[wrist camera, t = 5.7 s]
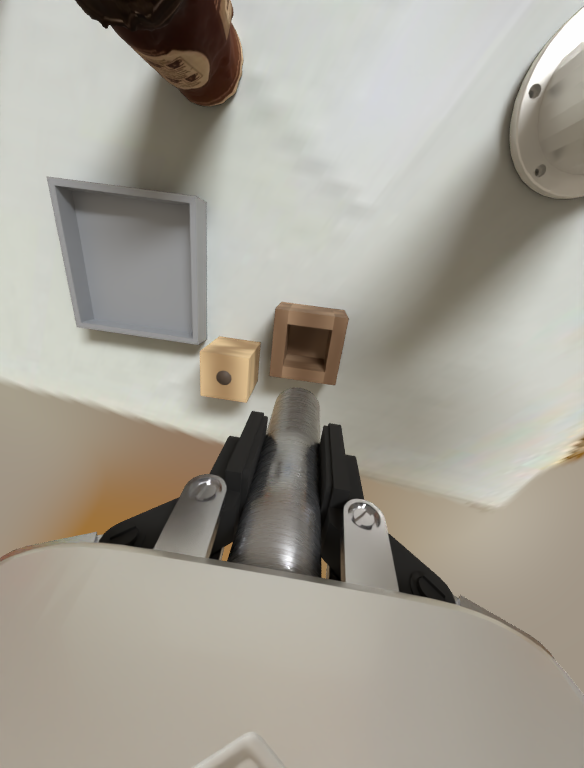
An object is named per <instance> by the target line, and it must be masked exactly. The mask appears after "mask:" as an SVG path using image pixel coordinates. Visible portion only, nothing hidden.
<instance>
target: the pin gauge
mask: <svg viewBox="0 0 584 768" xmlns="http://www.w3.org/2000/svg"><path fill="white" fill-rule="evenodd" d="M227 562H233V563H238V564H244V565H250V566H256V567H262V568H267V569H273V570H279V571H285V572H290V573H296V574H302V575H308V576H313V577H319V578H321V513H320V406H319V402H318V400H317V398H316V397H315V396H314V395H313V394H312V393H311V392H309V391H308V390H305V389H302V388H291V389H287V390H285V391H283V392H282V393H281V394H280V395H279V396H278V398H277V399H276V402H275V405H274V409H273V412H272V415H271V419H270V422H269V425H268V428H267V432H266V437H265V440H264V443H263V446H262V450H261V453H260V456H259V460H258V463H257V466H256V470H255V473H254V476H253V480H252V483H251V486H250V490H249V493H248V496H247V500H246V502H245V504H244V507H243V511H242V514H241V517H240V521H239V524H238V527H237V530H236V534H235V537H234V540H233V544H232V547H231V550H230V554H229V557H228V560H227Z"/></svg>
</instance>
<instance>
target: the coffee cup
mask: <svg viewBox="0 0 584 768" xmlns="http://www.w3.org/2000/svg"><path fill="white" fill-rule="evenodd" d="M75 1H76V2H77V4H78V5H79V6H80V7H81V8H82V9H83V11H84V12H85V13H86V14H87V15H89V16H90V17H91V18H92V19H94V20H97V21H99V22H100V23H101V24H102V26H103V27H104V28H108V26H109V25H111V26H112V28H113V29H114V30H115V32H116V33H117V34H118V35H119V36H120V37H121V38H122V39H123V40H124V41H125V42H126V43H127V44H128V45H130V46H131V47H132V48H133V50H134V51H136V52H137V53H138V54H139V55H140V56H141V57H142V58H143V59H144V60H145V61H146V62H147V63H148V64H149V65H150V66H151V67H153V68H154V69H155V70H156V71H157V72H158V73H159V74H160V75H161V76H162V77H163V78H164V79H166V80H167V81H168V82H169V83H170V84H172V85H173V86H175V87H176V88H178V89H179V90H180V92H181V93H182V94H183V95H184V96H185V97H186V98H187V99H188V100H190V101H191V102H193V103H195V104H198V105H201V106H214V105H218V104H222V103H224V102H225V101H226V100H227V99H228V98H229V97H231V96H232V95H234V93H235V92H236V90H237V87H238V82H239V79H240V77H241V75H242V65H243V54H242V46H241V43H240V39H239V37H238V34H237V32H236V30H235V28H234V26H233V25H232V23H231V20H232V17H233V7H232V4H231V1H230V0H75Z"/></svg>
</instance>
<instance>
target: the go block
mask: <svg viewBox="0 0 584 768" xmlns="http://www.w3.org/2000/svg"><path fill="white" fill-rule="evenodd" d="M348 319H349V318H348V316H347V314H346V313H345V311H344V310H339V309H331V308H324V307H316V306H309V305H301V304H294V303H287V302H281V303H280V304H279V305H278V306H277V307H276V309H275V319H274V330H273V341H272V352H271V363H270V374H269V376H273V377H280V378H287V379H294V380H301V381H308V382H315V383H322V384H329V385H335V384H336V379H337V374H338V369H339V364H340V359H341V354H342V349H343V344H344V339H345V334H346V329H347V324H348Z"/></svg>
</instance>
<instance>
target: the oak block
mask: <svg viewBox="0 0 584 768" xmlns="http://www.w3.org/2000/svg"><path fill="white" fill-rule="evenodd" d="M260 345H261V342H254V341H247V340H240V339H233V338H226V337H218V338H217V339H215V340H214V341H213V342H211V343H210V344H209V345H207V346H206V347H205V348H203V349H202V350H201V351H200V393H201V396H206V397H212V398H219V399H226V400H232V401H239V402H246V403H247V401H248V399H249V397H250V395H251V393H252V391H253V389H254V387H255V385H256V383H257V381H258V370H259V357H260Z"/></svg>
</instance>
